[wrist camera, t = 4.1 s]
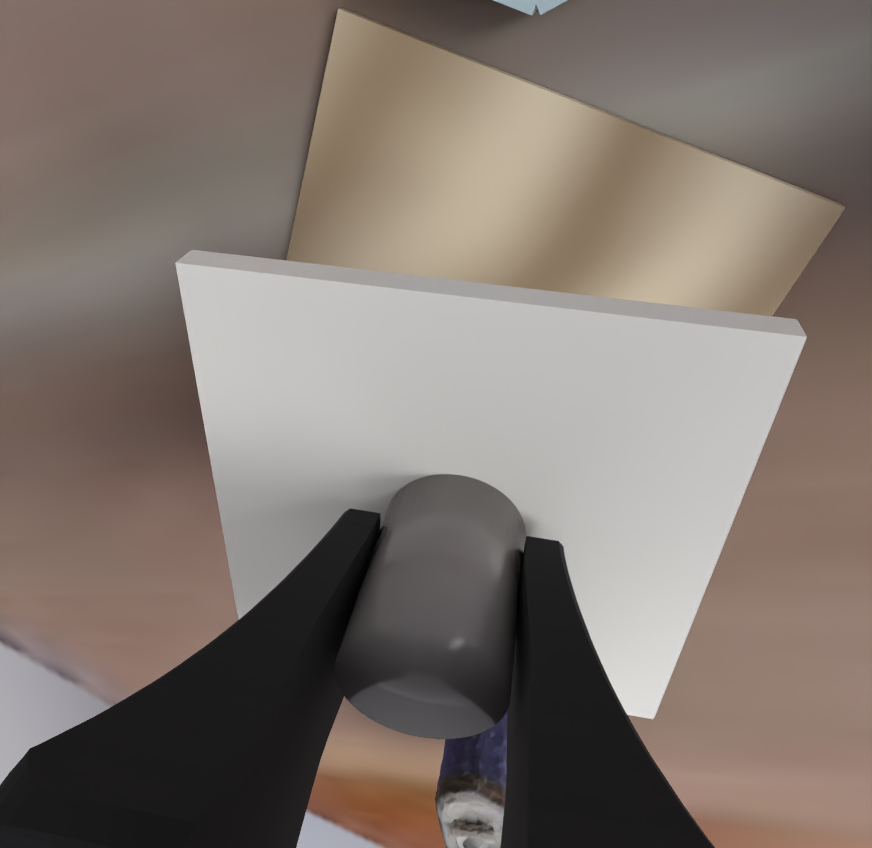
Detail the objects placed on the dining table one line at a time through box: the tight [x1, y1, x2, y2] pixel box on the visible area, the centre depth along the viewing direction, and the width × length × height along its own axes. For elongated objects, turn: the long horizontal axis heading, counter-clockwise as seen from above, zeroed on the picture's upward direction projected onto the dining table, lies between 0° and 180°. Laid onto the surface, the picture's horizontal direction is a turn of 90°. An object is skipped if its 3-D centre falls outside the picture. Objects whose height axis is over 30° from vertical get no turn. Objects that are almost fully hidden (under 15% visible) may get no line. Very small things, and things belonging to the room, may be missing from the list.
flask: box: [435, 712, 507, 848], centre depth 26 cm, size 9×3×11 cm, turn 17°
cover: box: [175, 250, 807, 739], centre depth 13 cm, size 10×10×4 cm
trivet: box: [286, 8, 845, 316], centre depth 22 cm, size 14×14×1 cm
